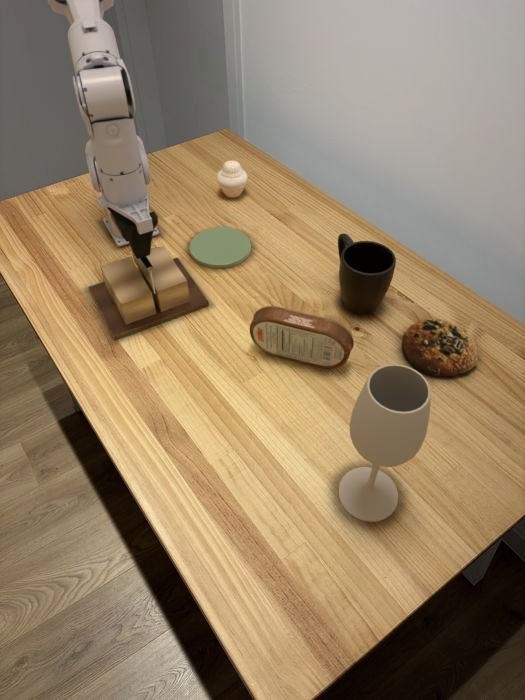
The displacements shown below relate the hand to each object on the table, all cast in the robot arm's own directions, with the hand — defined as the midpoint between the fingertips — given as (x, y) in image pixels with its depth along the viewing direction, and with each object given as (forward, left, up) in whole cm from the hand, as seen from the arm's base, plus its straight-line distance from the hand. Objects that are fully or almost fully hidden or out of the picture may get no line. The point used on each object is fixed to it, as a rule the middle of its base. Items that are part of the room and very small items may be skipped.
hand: (137, 247), depth 83 cm
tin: (+23, +15, -11) cm, 29 cm away
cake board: (0, 0, -10) cm, 10 cm away
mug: (+16, +30, -11) cm, 36 cm away
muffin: (-21, +26, -11) cm, 35 cm away
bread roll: (+32, +34, -11) cm, 48 cm away
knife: (-3, 0, -5) cm, 6 cm away
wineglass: (+46, +11, -11) cm, 48 cm away
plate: (-6, +16, -10) cm, 20 cm away
